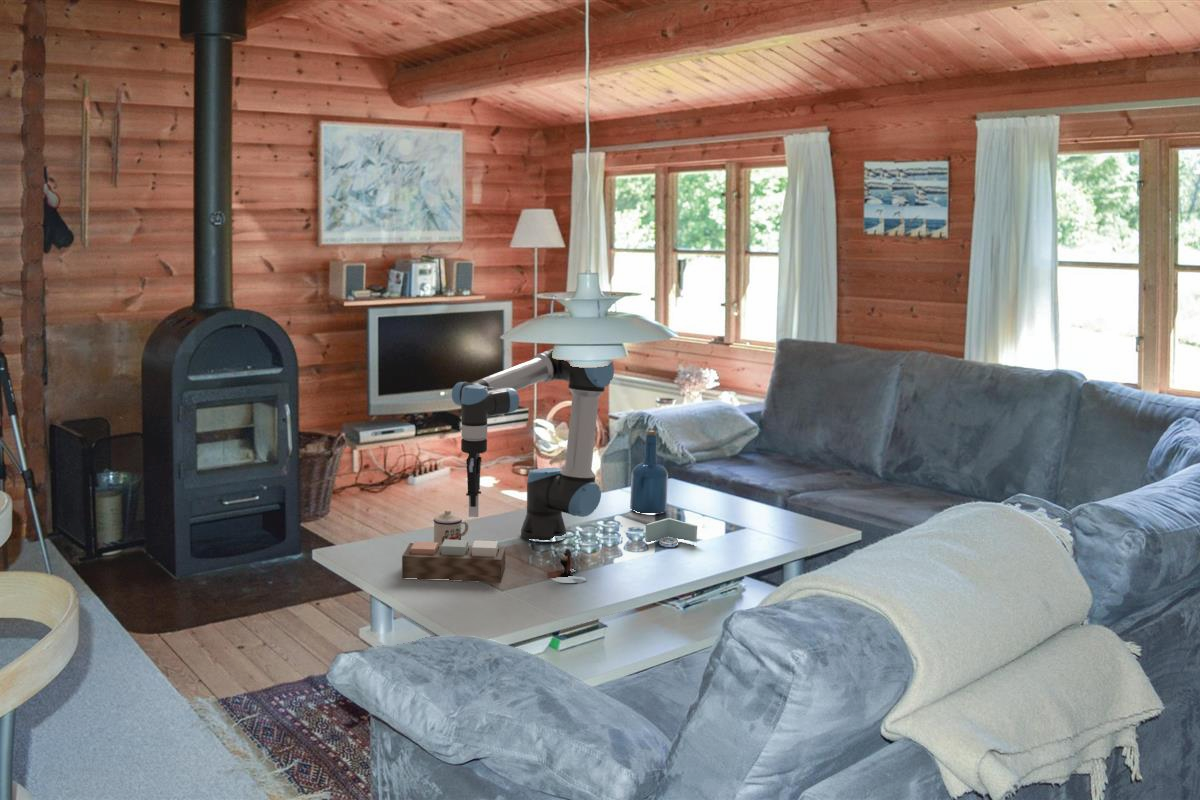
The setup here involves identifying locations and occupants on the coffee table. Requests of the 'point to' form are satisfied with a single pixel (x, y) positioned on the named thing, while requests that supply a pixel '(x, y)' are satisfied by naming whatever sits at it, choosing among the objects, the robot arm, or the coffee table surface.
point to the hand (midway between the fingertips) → (473, 516)
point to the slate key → (454, 547)
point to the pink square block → (424, 548)
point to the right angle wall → (670, 531)
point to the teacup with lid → (448, 527)
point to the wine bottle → (649, 481)
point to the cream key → (485, 548)
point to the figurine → (565, 563)
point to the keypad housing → (454, 566)
